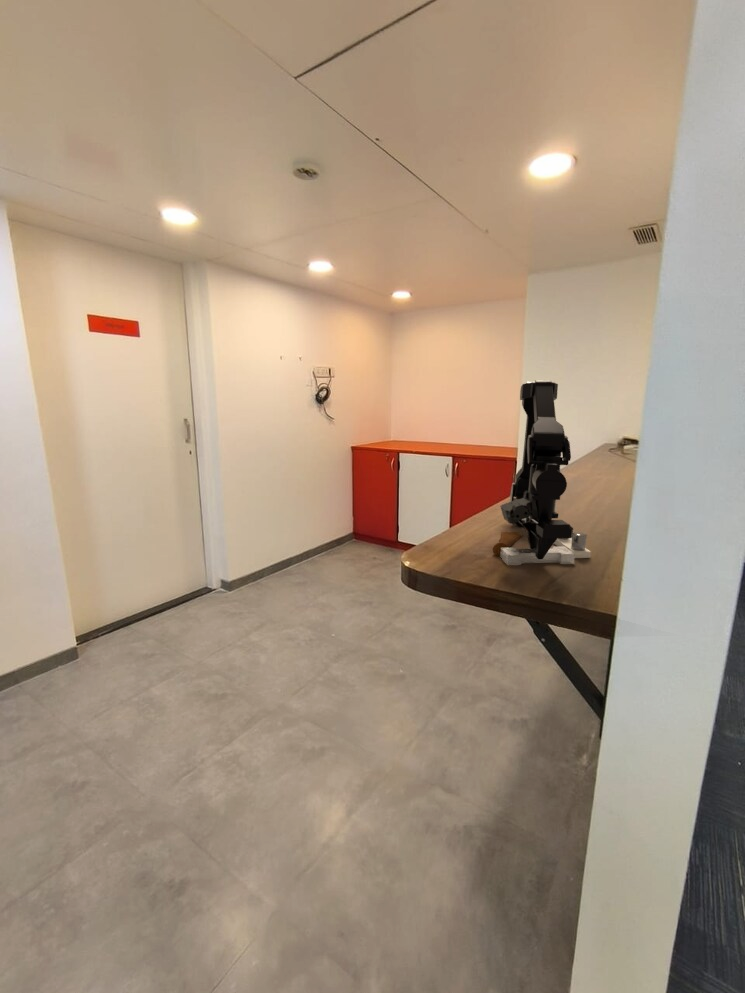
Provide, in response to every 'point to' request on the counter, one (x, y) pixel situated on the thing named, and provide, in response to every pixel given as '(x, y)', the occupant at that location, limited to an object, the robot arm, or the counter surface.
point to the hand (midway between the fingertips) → (536, 556)
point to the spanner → (536, 556)
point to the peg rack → (575, 544)
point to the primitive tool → (505, 541)
